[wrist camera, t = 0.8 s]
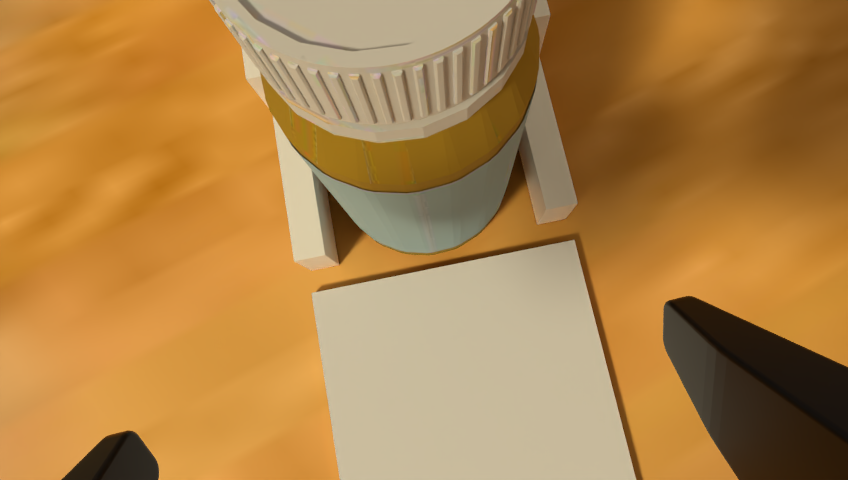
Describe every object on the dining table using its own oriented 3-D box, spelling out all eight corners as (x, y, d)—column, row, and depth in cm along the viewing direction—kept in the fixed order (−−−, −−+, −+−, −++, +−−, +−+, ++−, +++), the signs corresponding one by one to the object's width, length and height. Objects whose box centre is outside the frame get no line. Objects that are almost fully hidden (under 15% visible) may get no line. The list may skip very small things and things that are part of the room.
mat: (645, 523, 20) (648, 527, 20) (357, 578, 21) (355, 583, 20) (572, 241, 23) (574, 239, 22) (313, 294, 23) (311, 292, 23)
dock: (578, 216, 23) (601, 190, 19) (298, 273, 23) (268, 258, 19) (527, 22, 25) (539, -36, 21) (269, 76, 25) (236, 29, 21)
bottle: (329, 126, 24) (133, -209, 10) (480, 85, 24) (512, -315, 10) (364, 276, 23) (197, 147, 8) (525, 233, 23) (643, 27, 8)
